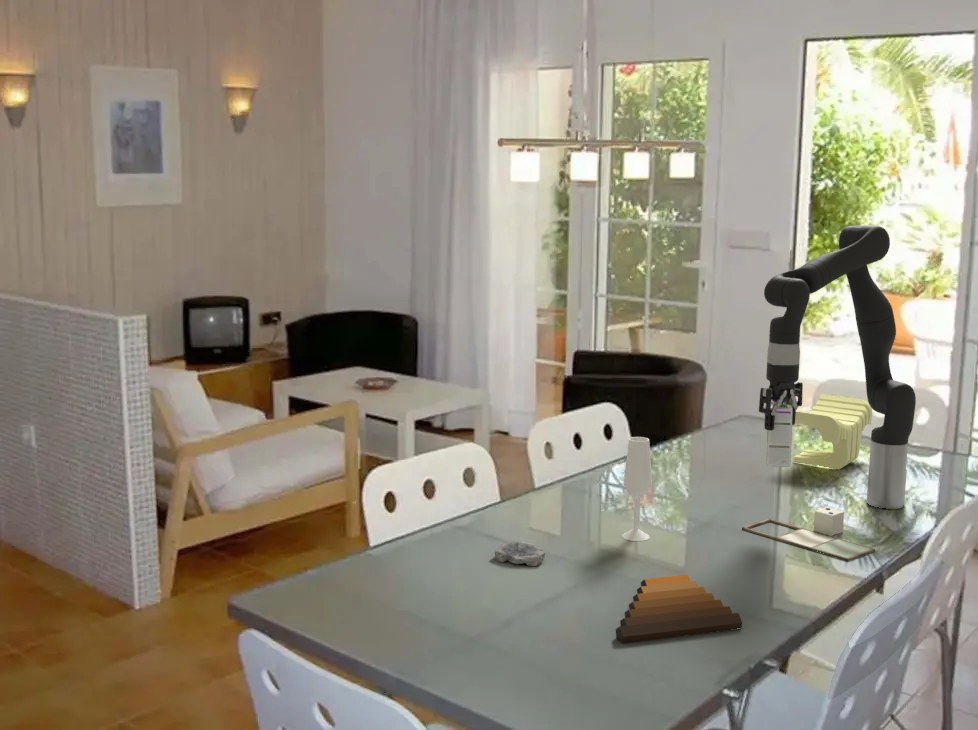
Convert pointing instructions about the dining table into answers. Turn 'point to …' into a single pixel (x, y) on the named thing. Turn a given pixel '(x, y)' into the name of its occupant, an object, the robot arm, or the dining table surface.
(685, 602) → the pan flute
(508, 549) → the grey stone dish
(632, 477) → the champagne flute
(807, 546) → the board
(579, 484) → the dining table surface
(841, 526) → the die
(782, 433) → the syrup box
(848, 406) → the slatted curved stool
